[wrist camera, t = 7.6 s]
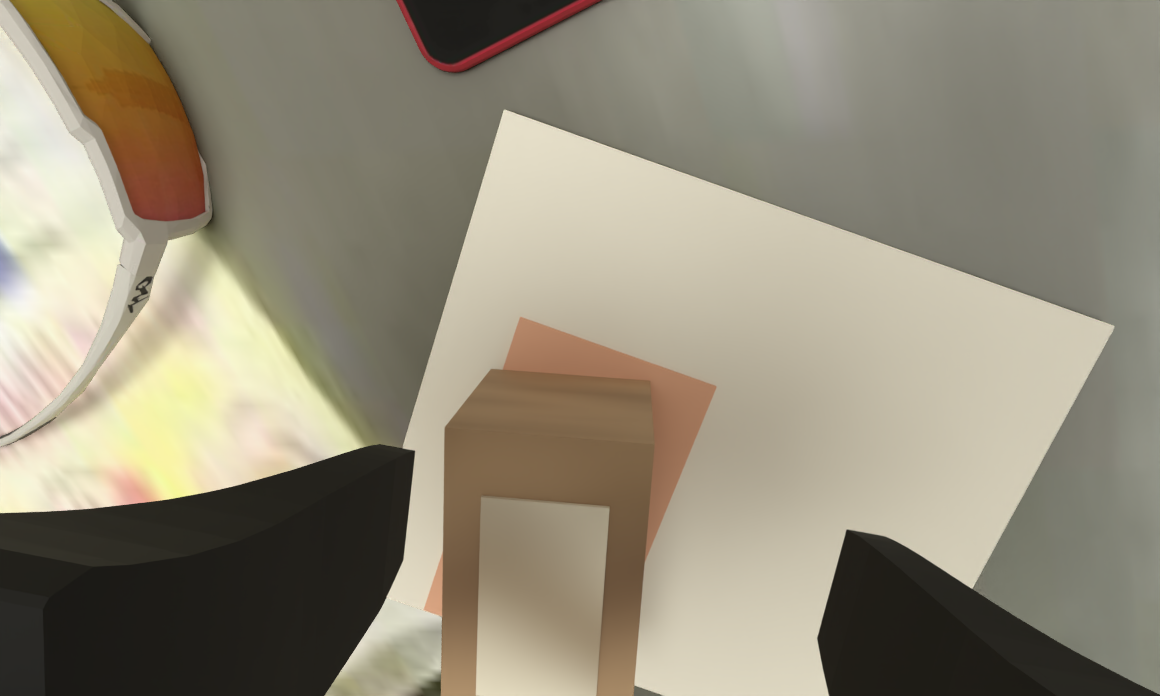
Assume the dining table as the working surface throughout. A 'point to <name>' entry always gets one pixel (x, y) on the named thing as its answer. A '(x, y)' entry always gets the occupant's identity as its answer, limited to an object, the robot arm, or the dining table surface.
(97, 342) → the sunglasses
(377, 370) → the dining table surface
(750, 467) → the mat
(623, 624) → the card box
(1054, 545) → the dining table surface
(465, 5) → the smartphone
